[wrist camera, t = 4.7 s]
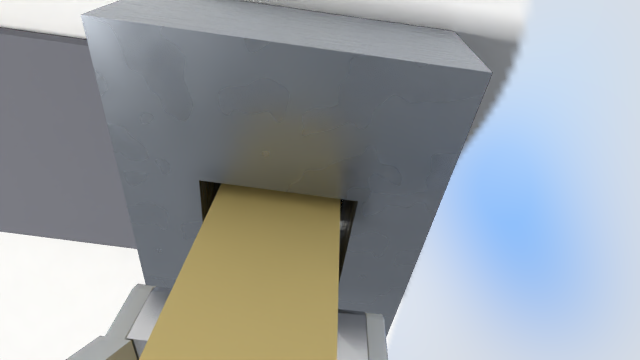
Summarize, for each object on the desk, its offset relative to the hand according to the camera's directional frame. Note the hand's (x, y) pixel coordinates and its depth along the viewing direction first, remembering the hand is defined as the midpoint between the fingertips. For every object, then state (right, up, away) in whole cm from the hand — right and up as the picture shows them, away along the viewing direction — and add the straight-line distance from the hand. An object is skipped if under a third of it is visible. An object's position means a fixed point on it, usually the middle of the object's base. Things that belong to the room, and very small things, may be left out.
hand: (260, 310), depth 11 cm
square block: (0, +4, +5) cm, 7 cm away
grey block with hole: (0, +4, +5) cm, 7 cm away
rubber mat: (-12, +5, +5) cm, 14 cm away
